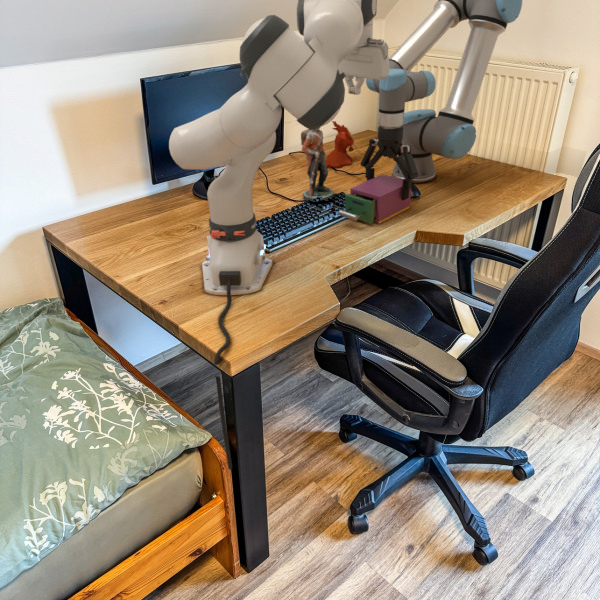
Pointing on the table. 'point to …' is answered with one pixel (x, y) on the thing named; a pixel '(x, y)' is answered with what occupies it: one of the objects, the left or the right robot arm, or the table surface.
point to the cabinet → (384, 196)
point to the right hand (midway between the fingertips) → (387, 193)
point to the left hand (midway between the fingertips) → (354, 93)
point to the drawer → (359, 208)
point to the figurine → (315, 164)
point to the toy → (340, 148)
